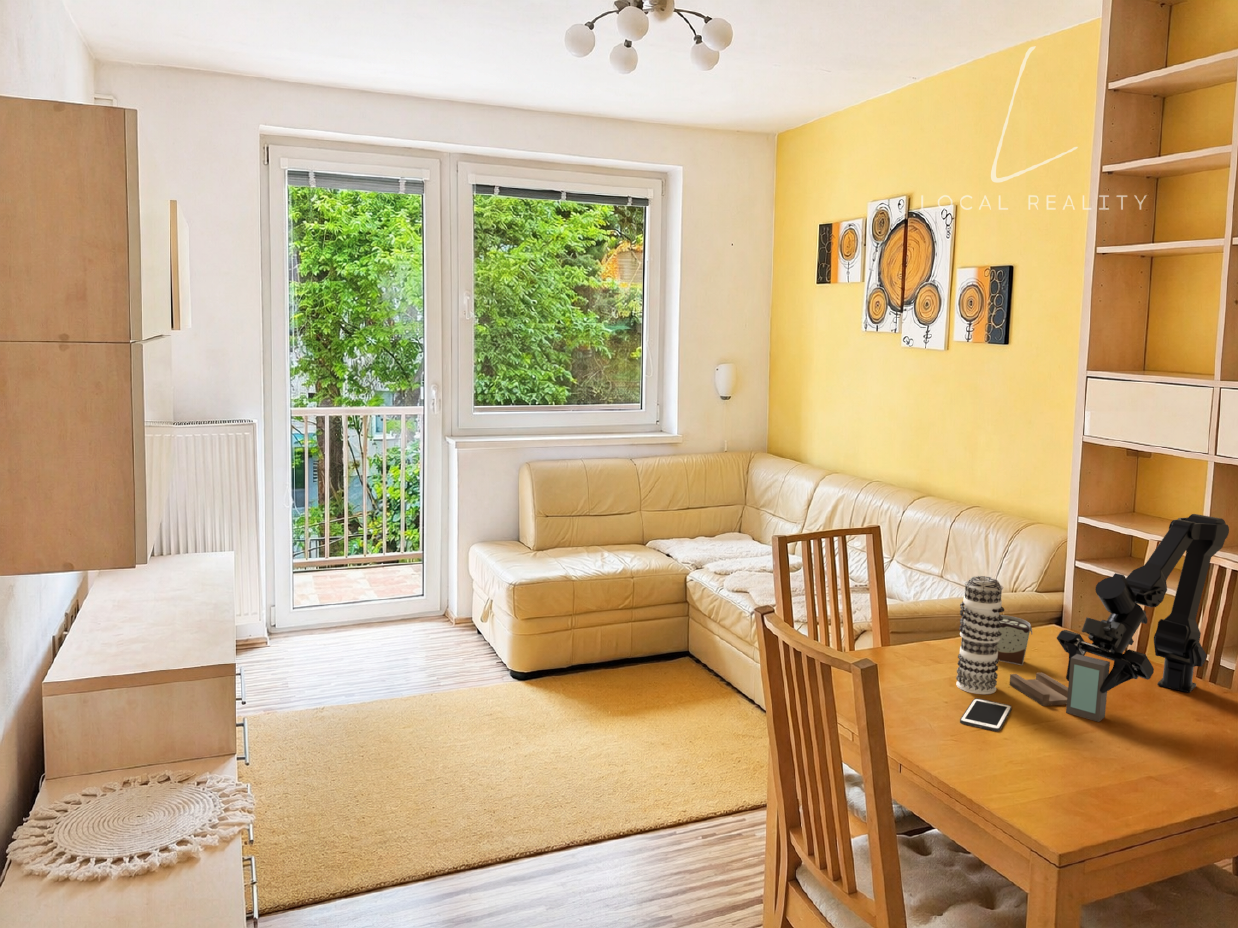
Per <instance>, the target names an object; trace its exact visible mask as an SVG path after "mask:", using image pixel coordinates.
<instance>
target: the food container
mask: <svg viewBox="0 0 1238 928" xmlns="http://www.w3.org/2000/svg"><path fill="white" fill-rule="evenodd" d="M1000 615H1001V616H1002V617H1003V620H1001V621H999V622H1000V623H1002V627H1000V628H998V631H999V632H1001V636H999V637H1000V640H999V642H998V645H997V651H998V657H997V659H998V660H999V661H998V662H1003V663H1008V664H1012V665H1019V666H1022V667H1023V666H1024V662H1025V657H1026V653H1027V647H1028V643H1029V639H1030V638H1029V637H1030V634H1031V635H1033V629H1032V626H1031V623H1030V622H1029V621H1027V620H1025V619H1023V618H1020V617H1016V616H1012V615H1005V614H1000Z"/></svg>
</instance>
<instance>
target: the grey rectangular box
mask: <svg viewBox="0 0 1238 928" xmlns="http://www.w3.org/2000/svg"><path fill="white" fill-rule="evenodd" d="M1110 666H1111V661H1108V660H1104V659H1099V658H1095V657H1091V656H1087V655H1079V654H1076V655H1074V656H1073V657H1071V662H1070V673H1069V681H1068V685H1067V687H1068V695H1067V704H1066V708H1065V713H1066V714H1069V715H1072V716H1076V717H1079V718H1083V719H1088V720H1091V721H1094V722H1098V723H1100V722H1101V721H1102V720H1103V719H1105V716H1106V709H1107V708H1106V706H1107V698H1108V691H1107V692H1105V693H1101V692H1100V688H1101V686H1102V684H1103V682H1104V681H1105V679H1106V678H1107V676H1108V675H1109V673H1110V668H1111V667H1110Z"/></svg>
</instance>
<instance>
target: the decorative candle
mask: <svg viewBox="0 0 1238 928" xmlns="http://www.w3.org/2000/svg"><path fill="white" fill-rule="evenodd" d="M963 584H964V587H965V588H964V596H963V600H962V602H961V603H960V605H959V606H960V610H959V615H960V616H961V618H960V619H959V624H960V625H959V628H958V630H959V631H960V632H959V635H960V637H961V639H960V640H961V641H960V644H961V645H960V647H959V654H958V655H957V658H958V660H957V665H958V667H957V668H956V673H957V675H956V676H955V677H956V678H955V679H956V682H955V684H956V687H957V688H958V689H959V690H961V691H964V692H967V693H971V694H976V695H991V694H994V693H995V692H996V691H997V687H996V686H997V685H998V684H997V683H998V680H997V679H998V673H997V671H998V670H999V669H998V668H999V666H998V664H999V662H1000V661H999V660H998V659H997V657H998V651H997V645H998V642H999V640H1000V637H999V636H1001V632H999V631H998V628H1000V627H1002V623H1000V622H999V621H1001V620H1003V617H1002V616H1001V615H1002V614H1000V613H1003V612H1005V608H1004V607H1003V606H1002V605H1003V604H1002V603H1003V601H1002V591H1003V590H1004V586H1003V585H1001V584H1000V582H999V581H998V579H996V578H994V577H991V576H985V575H984V576H983V575H977V576H971V578H969V580H968V581H965V582H964V583H963Z"/></svg>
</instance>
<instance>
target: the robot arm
mask: <svg viewBox="0 0 1238 928" xmlns="http://www.w3.org/2000/svg"><path fill="white" fill-rule="evenodd" d="M1229 527H1230V526H1229V525H1228V524H1226V520H1225V519H1224V518H1221V517H1215V516H1208V515H1203V514H1197V513H1191V514H1190V515H1189V516H1187V517H1178V518H1177V519H1173V520H1171V521H1170V523H1169V525H1168V530H1167V532H1166V533H1165V534H1164V536H1163V538H1162V539H1161V540H1160V542H1159V544H1158V545H1156V548H1155V550H1153V552H1152V553H1151V555H1150V556H1149V558H1148V560H1146V562H1145V564H1143V565H1142V566H1139V567H1138V568H1135V569H1133V570H1132V571H1131V572H1130V573H1129V574H1128V575H1127V576H1125V575H1124V574H1121V573H1116V572H1114V573H1113V575H1112V576H1109V577H1106V578H1104V579H1102V580H1100V581H1098V582H1097V584H1096V586H1095V593H1096V594H1097V596H1098V598H1099V600H1100V601H1101V603H1102V605H1103V606H1104V608H1105V610H1106V611H1108V613H1110V614H1109V616H1108V618H1106V620H1105V619H1102V620H1097V619H1095V618H1092V617H1091V618H1090V617H1088V616H1087V617H1086V618H1085V620H1084V624H1083V625H1082V626H1083V627H1082V629H1081V632H1082V633H1086V634H1087V635H1088V636H1087V637H1088V639H1089V641H1092V643H1090V642H1086V641H1085V640H1084V638H1083V637H1082V636H1081V634H1080V633H1078V632H1075V631H1071V630H1068V629H1063V630H1061V631H1059V633H1058V635H1057V636H1056V640H1057V641H1058V643H1059V644H1060V645H1061V647H1062V649H1063V650H1064V652H1066V653H1068V663H1067V664H1068V665H1067V670H1066V675H1065V680H1066V681H1067V682H1069V673H1070V662H1071V657H1073V656H1074V655H1076V654H1079V655H1084V656H1086V654H1087V653H1089V654H1092V655H1095V656H1098V657H1100V658H1104V659H1107V660H1110V661H1113V666H1112V668H1111V670H1109V675H1108V676H1107V678H1106V679H1105V681H1104V682H1103V684H1102V686H1101V688H1100V692H1101V693H1105V692H1107V693H1108V691H1110V690H1113V688H1115V687H1117V686H1119V685H1121V684H1124V683H1125V682H1128V681H1131V680H1137V679H1139V678H1142V679H1144V680H1150V679H1151V678H1152V676H1153V674H1154V671H1155V668H1154V666H1153V664H1152V663H1151V660H1150V659H1149V657H1148V656H1147V654H1145V653H1143V652H1139V651H1137V650H1133V649H1126V648H1127V646H1129V645H1130V646H1133V644H1134V638H1133V636H1135V634H1136V632H1137V630H1138V629H1139V628H1140V625H1141V624H1145V625H1148V617H1147V612H1146V609H1145V610H1144V609H1143V608H1142V606H1144V607H1148V608H1157V607H1158V606H1159V605H1160V604H1161V603H1162V602H1163V601H1164V599H1165V596H1166V593H1168V586H1167V580H1168V578H1169V577H1170V575H1171V573H1172V571H1173V570H1174V568H1176V565H1178V563H1179V561H1180V560H1181V558H1182V557H1183V555H1184V554H1185V557H1184V560H1183V563H1182V567H1181V571H1180V576H1179V580H1178V584H1177V588H1176V591H1175V595H1174V600H1173V603H1172V606H1171V611H1170V614H1169V615H1167V617H1165V618H1164V619H1163V618H1160V619H1159V621H1157V627H1156V631H1155V633H1154V636H1153V644H1154V645H1153V647H1154V653H1155V657H1156V656H1157V657H1159V658H1163V659H1164V662H1163V663H1164V664H1163V673H1162V678H1161V679H1160V680H1159V681H1158V682H1157V686H1160V687H1162V688H1163V687H1164V688H1166V689H1167V688H1168V689H1171V690H1176V691H1180V692H1185V693H1191V692H1192V691H1193V690H1194V689H1195V688H1196V687H1197V683H1196V682H1193V678H1194V677H1193V675H1194V668H1195V667H1198V668H1199V667H1204V666H1203V665H1204V664H1205V662H1206V658H1207V653H1206V652H1205V650H1204V648H1203V646H1202V644H1201V642H1200V640H1201V632H1200V628H1199V626H1198V623H1197V620H1196V619H1197V615H1198V612H1199V607H1200V603H1201V599H1202V595H1203V591H1204V587H1205V584H1206V579H1207V576H1208V572H1209V567H1210V564H1211V560H1212V557H1214V555H1215V554H1217V553H1218V552H1219V551H1220V550H1222V548H1223V547H1224V545H1225V541H1226V539H1227V538H1228V536H1229V534H1230V528H1229Z"/></svg>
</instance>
